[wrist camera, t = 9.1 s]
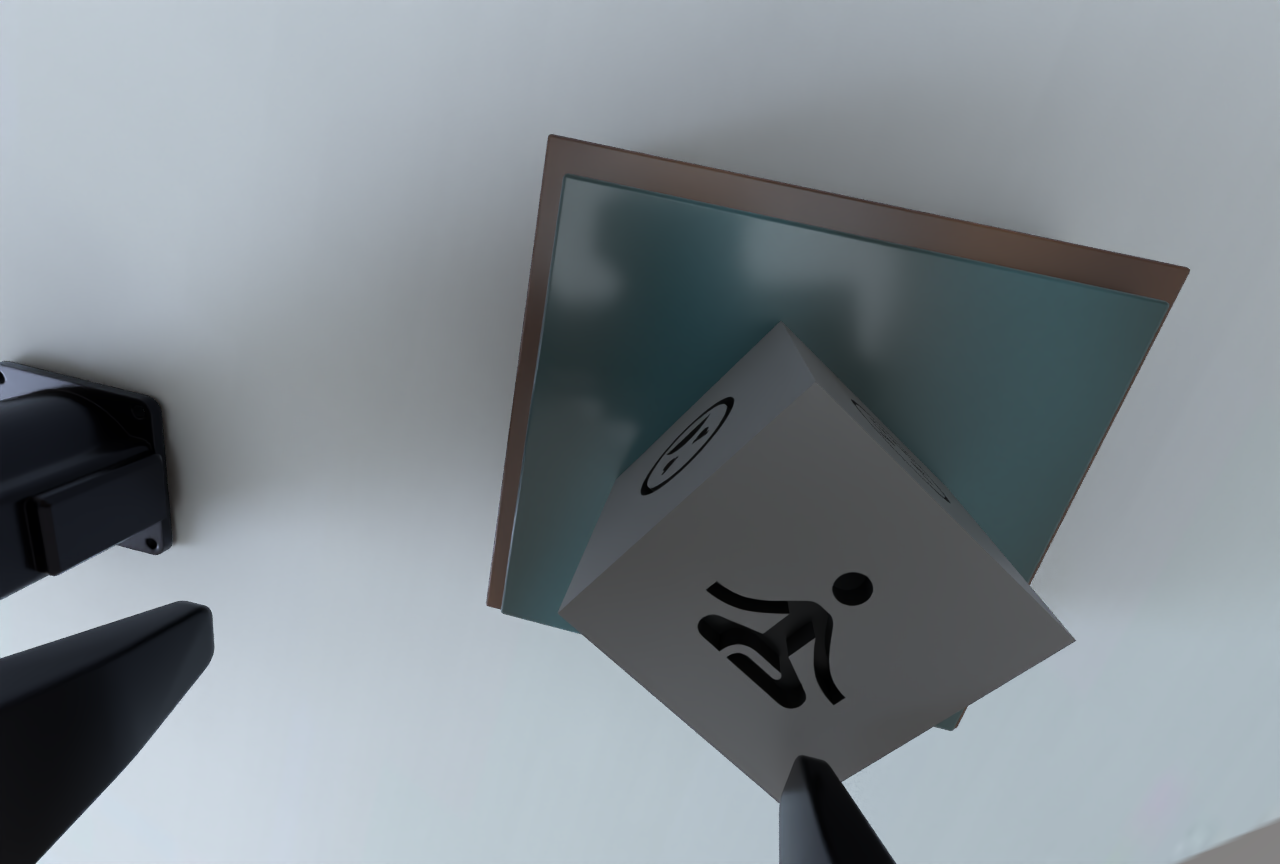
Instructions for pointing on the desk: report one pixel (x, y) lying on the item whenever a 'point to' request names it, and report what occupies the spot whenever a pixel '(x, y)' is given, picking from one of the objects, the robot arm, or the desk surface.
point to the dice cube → (800, 577)
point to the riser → (825, 322)
